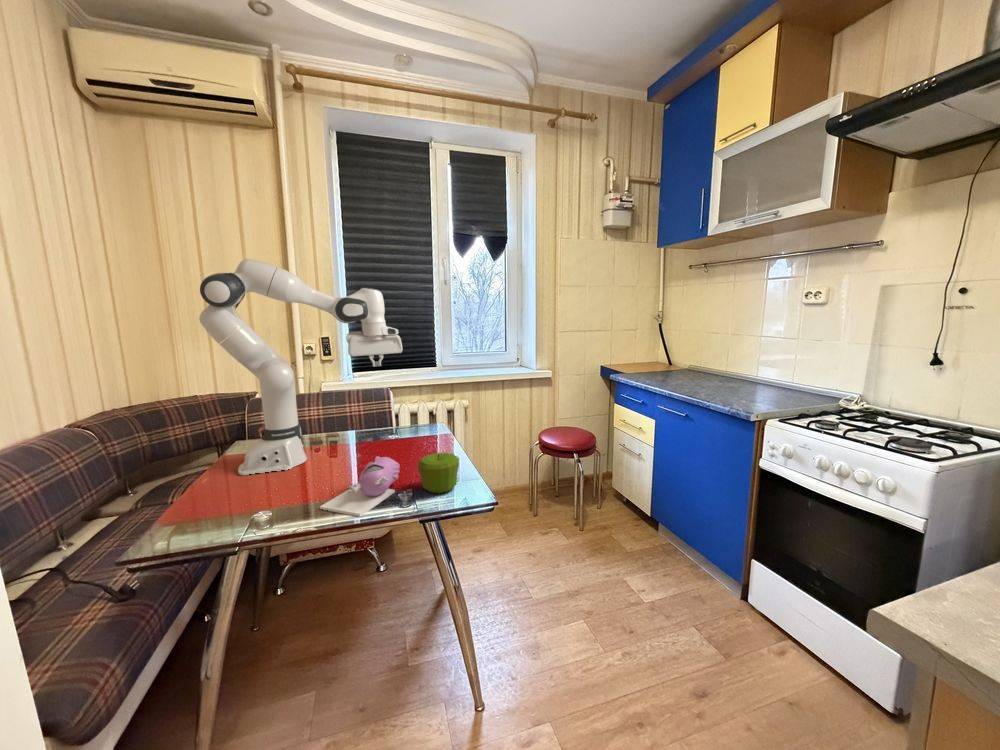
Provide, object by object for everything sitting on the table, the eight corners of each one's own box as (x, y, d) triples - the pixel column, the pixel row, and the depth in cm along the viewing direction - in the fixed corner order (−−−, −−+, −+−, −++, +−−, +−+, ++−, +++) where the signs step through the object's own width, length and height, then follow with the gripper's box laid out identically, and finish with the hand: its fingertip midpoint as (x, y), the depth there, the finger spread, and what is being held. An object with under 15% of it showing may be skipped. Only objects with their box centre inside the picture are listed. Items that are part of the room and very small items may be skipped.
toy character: (399, 449, 135) (382, 465, 115) (405, 480, 136) (389, 501, 116) (362, 456, 135) (339, 473, 115) (369, 487, 136) (346, 509, 116)
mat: (358, 486, 132) (357, 484, 132) (394, 492, 127) (394, 489, 127) (320, 509, 118) (319, 506, 118) (360, 516, 113) (359, 513, 113)
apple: (452, 477, 137) (450, 445, 135) (466, 491, 126) (464, 456, 125) (415, 486, 132) (412, 452, 130) (426, 501, 121) (424, 464, 119)
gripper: (346, 332, 152) (350, 369, 154) (402, 329, 161) (404, 364, 163) (344, 331, 158) (347, 367, 160) (398, 329, 167) (400, 363, 169)
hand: (377, 366), depth 161 cm, fingers closed
